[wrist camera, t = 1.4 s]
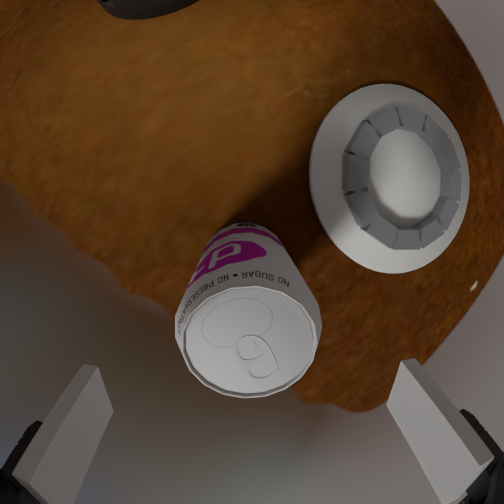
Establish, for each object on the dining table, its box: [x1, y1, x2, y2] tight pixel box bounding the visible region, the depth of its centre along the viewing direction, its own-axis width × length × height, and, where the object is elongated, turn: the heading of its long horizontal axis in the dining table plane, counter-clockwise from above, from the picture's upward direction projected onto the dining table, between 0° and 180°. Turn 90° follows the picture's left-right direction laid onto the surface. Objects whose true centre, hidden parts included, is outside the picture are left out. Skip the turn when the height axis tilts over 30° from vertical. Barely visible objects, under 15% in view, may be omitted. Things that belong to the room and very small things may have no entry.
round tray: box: [308, 84, 469, 273], centre depth 26 cm, size 20×20×3 cm
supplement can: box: [175, 223, 322, 398], centre depth 21 cm, size 8×8×15 cm
